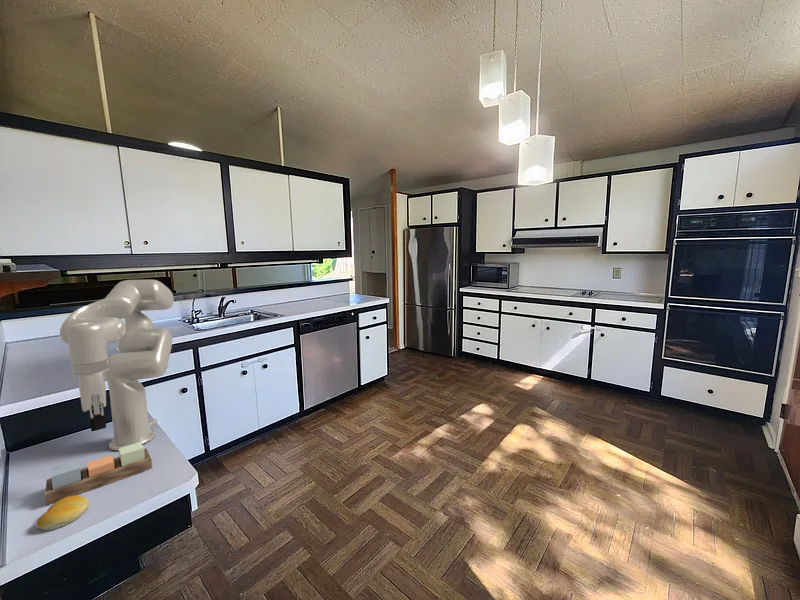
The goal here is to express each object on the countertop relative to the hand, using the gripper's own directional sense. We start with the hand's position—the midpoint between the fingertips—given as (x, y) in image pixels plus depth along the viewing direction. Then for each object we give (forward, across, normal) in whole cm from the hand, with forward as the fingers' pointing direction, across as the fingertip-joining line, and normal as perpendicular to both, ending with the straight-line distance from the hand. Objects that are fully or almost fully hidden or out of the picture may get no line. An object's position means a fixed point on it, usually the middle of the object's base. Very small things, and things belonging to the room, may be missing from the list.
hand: (98, 428), depth 96 cm
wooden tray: (+15, +1, -1) cm, 15 cm away
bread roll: (+15, +14, -8) cm, 22 cm away
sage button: (+12, +1, +6) cm, 14 cm away
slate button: (+12, +1, -8) cm, 14 cm away
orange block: (+14, +1, -1) cm, 14 cm away
